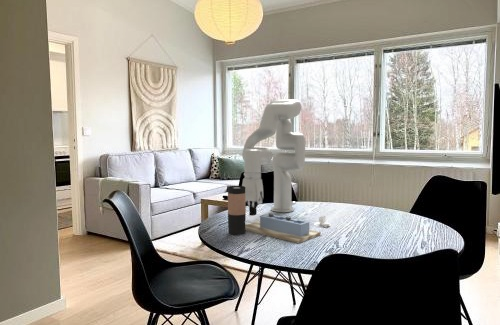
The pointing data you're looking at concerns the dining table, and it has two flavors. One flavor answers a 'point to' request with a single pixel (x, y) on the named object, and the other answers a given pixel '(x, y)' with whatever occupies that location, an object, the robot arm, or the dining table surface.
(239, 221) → the travel mug
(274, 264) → the dining table surface
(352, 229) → the dining table surface
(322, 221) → the white curved piece
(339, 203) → the dining table surface
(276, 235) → the board
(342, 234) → the dining table surface
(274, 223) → the blue slotted peg holder
